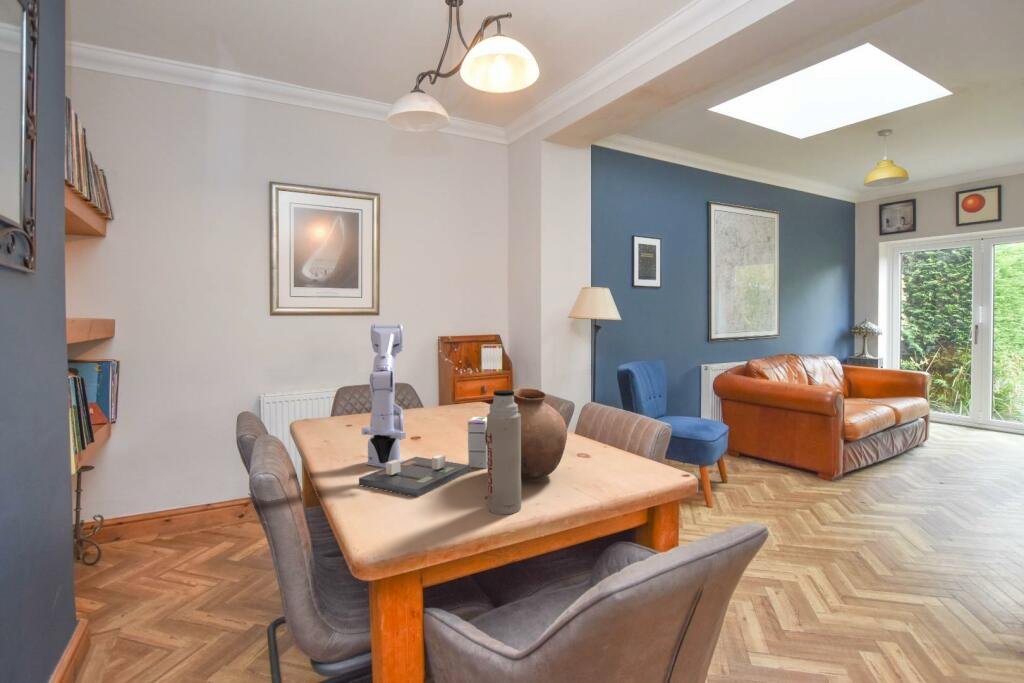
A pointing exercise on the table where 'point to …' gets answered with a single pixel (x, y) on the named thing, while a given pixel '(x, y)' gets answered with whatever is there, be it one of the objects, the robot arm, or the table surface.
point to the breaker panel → (415, 477)
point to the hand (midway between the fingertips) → (383, 462)
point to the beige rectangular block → (393, 467)
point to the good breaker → (438, 461)
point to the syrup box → (477, 442)
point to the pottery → (539, 434)
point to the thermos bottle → (504, 454)
